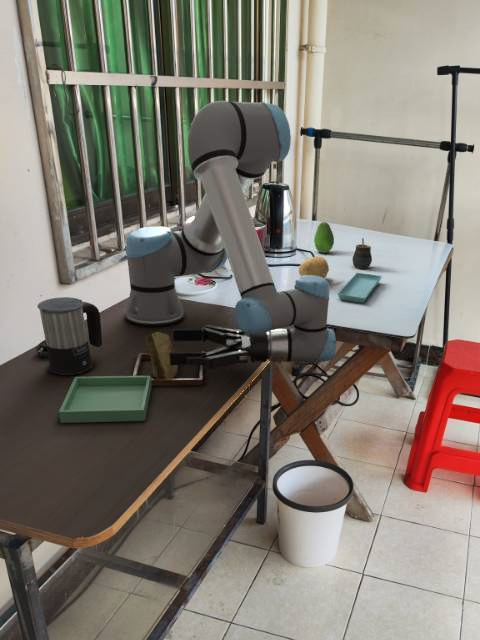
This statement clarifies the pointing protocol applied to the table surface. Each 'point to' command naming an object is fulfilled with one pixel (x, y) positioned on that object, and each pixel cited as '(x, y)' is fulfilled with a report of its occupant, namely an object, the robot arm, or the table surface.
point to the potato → (314, 267)
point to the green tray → (106, 399)
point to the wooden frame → (168, 381)
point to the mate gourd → (362, 256)
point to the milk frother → (68, 334)
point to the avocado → (324, 238)
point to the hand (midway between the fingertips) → (171, 346)
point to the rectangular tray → (359, 287)
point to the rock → (161, 355)
